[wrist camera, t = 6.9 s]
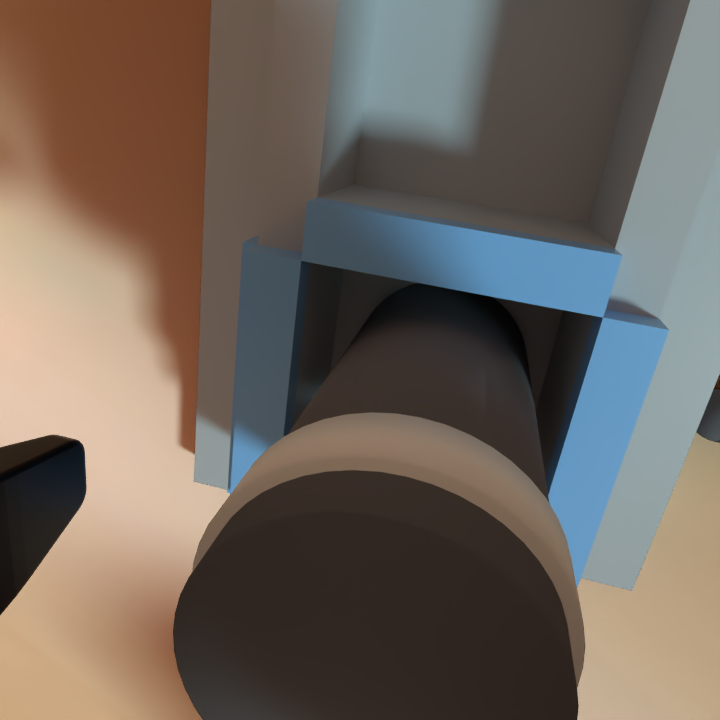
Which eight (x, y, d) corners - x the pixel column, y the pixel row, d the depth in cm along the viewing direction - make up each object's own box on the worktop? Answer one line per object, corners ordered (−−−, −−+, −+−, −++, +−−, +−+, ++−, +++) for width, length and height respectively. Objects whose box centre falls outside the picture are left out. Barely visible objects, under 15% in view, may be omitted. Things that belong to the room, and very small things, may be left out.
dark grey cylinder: (555, 293, 13) (663, 570, 5) (509, 461, 15) (530, 887, 6) (363, 257, 14) (161, 447, 5) (340, 423, 15) (157, 764, 7)
